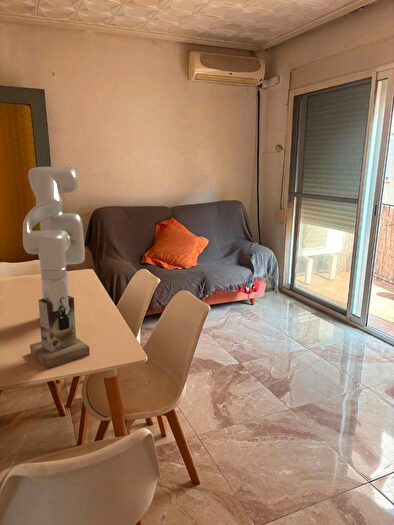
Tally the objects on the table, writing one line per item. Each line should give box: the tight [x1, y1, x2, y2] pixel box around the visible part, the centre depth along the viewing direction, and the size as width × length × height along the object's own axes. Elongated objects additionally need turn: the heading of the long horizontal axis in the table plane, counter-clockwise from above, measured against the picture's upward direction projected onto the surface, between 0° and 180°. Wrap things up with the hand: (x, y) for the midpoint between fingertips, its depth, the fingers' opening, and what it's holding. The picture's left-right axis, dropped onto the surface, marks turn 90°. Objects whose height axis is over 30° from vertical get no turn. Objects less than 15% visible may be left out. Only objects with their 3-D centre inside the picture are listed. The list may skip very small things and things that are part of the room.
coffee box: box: [38, 295, 77, 352], centre depth 128 cm, size 9×6×16 cm
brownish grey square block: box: [29, 337, 91, 370], centre depth 130 cm, size 14×14×3 cm
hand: (57, 324), depth 128 cm, fingers open, 9 cm apart
